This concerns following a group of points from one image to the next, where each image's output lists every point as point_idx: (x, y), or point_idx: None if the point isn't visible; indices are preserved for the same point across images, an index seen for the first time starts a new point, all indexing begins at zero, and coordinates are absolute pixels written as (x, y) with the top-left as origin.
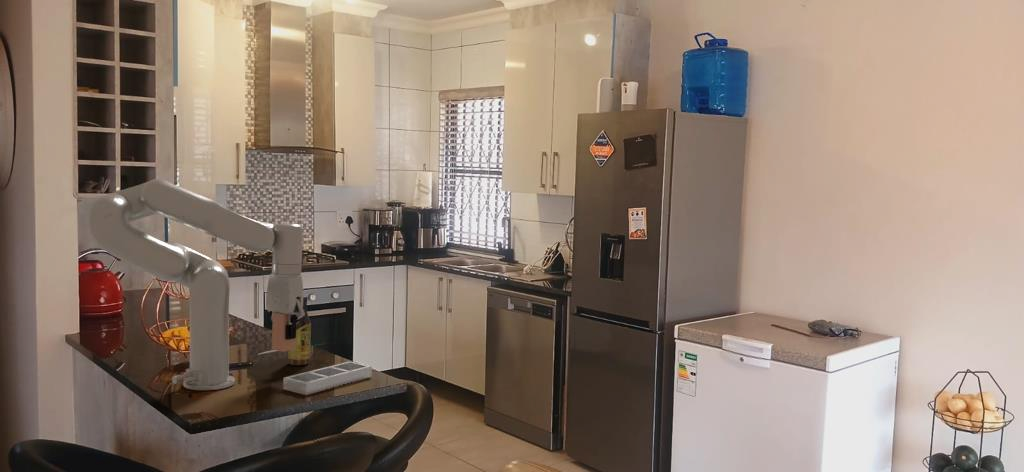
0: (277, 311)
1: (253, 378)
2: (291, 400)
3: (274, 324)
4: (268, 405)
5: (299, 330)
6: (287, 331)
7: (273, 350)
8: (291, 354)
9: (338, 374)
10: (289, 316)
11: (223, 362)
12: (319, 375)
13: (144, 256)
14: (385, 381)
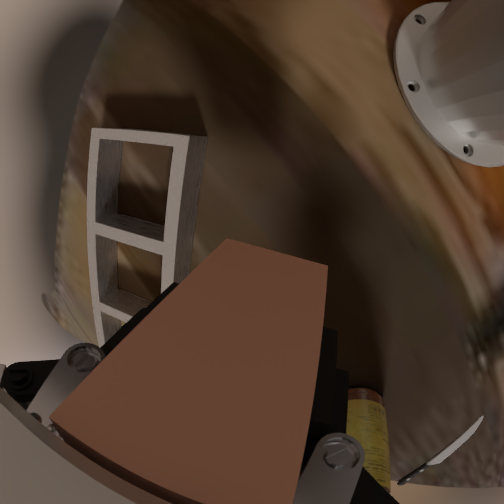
0: (113, 488)
1: (402, 212)
2: (120, 68)
3: (278, 379)
4: (145, 5)
5: None
6: (143, 317)
7: (456, 445)
8: (365, 411)
9: (92, 264)
10: (37, 395)
11: (446, 35)
12: (117, 229)
13: None
14: (78, 321)
